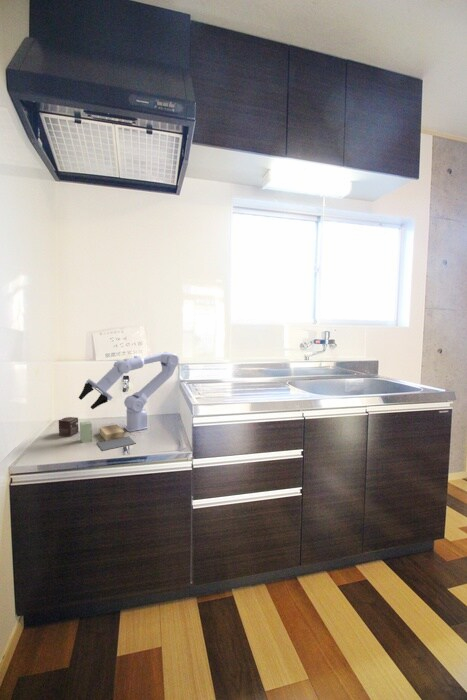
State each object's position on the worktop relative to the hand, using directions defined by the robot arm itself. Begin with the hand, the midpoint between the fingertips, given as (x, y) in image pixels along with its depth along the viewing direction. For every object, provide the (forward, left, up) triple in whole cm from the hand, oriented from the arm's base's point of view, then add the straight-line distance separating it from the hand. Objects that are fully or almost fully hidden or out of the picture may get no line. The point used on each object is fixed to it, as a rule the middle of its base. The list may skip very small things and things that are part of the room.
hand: (85, 403), depth 149 cm
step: (-10, +2, -16) cm, 19 cm away
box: (+6, -11, -16) cm, 20 cm away
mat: (-9, +13, -16) cm, 23 cm away
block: (+1, +2, -16) cm, 16 cm away
